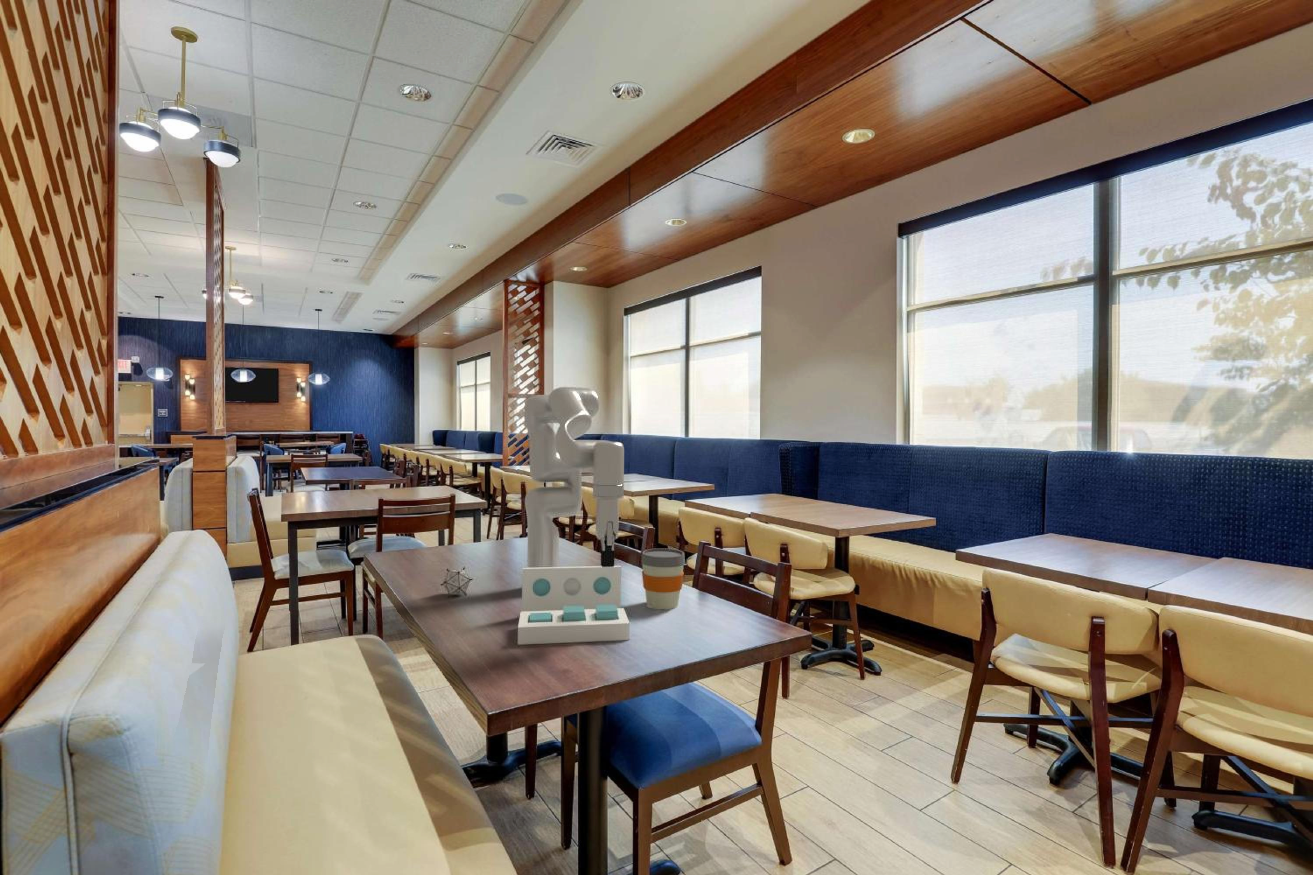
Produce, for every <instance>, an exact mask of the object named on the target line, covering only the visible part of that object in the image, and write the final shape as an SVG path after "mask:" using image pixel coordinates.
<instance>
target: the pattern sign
mask: <svg viewBox="0 0 1313 875" xmlns="http://www.w3.org/2000/svg"><path fill="white" fill-rule="evenodd" d="M521 574H522V575H521V576H522V581H521V582H522V584H521V612H523V611H553V610H563V606H584V609H596V605H616V607H617V608H621V596H622V595H621V593H622V591H621V590H622V587H621V585H622V566H621V565H614V567H602V566H601V565H596V566H595V565H594V566H588V565H587V566H559V567H538V568H527V567H522V572H521Z"/></svg>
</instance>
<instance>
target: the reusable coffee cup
mask: <svg viewBox="0 0 1313 875" xmlns="http://www.w3.org/2000/svg"><path fill="white" fill-rule="evenodd" d="M641 554H642V555H641V560H640V561H641V564H642V572H641V576H642V583H643V584H642V586H643V589H644V590H645V599H646V606H647V607H648V608H651V609H653V608H654V609H655V610H660V609H667V610H673V609H677V608H678V607H679V599H680V593H681V590H682V588H683V581H684V575H685V572H684V566H685V564H686V559H685V557H686V556H685V552H684V551H682V550H679V549H674V548H650V549H645V550H643V551H642V553H641ZM672 608H673V609H672Z"/></svg>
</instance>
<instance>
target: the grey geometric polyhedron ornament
mask: <svg viewBox="0 0 1313 875" xmlns="http://www.w3.org/2000/svg"><path fill="white" fill-rule="evenodd" d="M465 569H466V566H464V567H463V568H461V569H453V570H452V569H451V570H449V568H446V571H447V572H446V576H445V578H444V580H443V583H441V584H440V586H443V587H444V588H445V590H446V592H447V593H448V595H447V598H448V597H449V598H450V597H451V596H454V595H462V594H463V595H464V596H466V595H467V596H468V594H467V589H468V587H469V585H470V582H471V581H473V580H474V579H473V578H470V576H468V574H467V572H466V570H465Z"/></svg>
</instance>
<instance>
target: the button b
mask: <svg viewBox="0 0 1313 875" xmlns="http://www.w3.org/2000/svg"><path fill="white" fill-rule="evenodd" d="M563 621H585V611H584V606H563Z"/></svg>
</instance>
